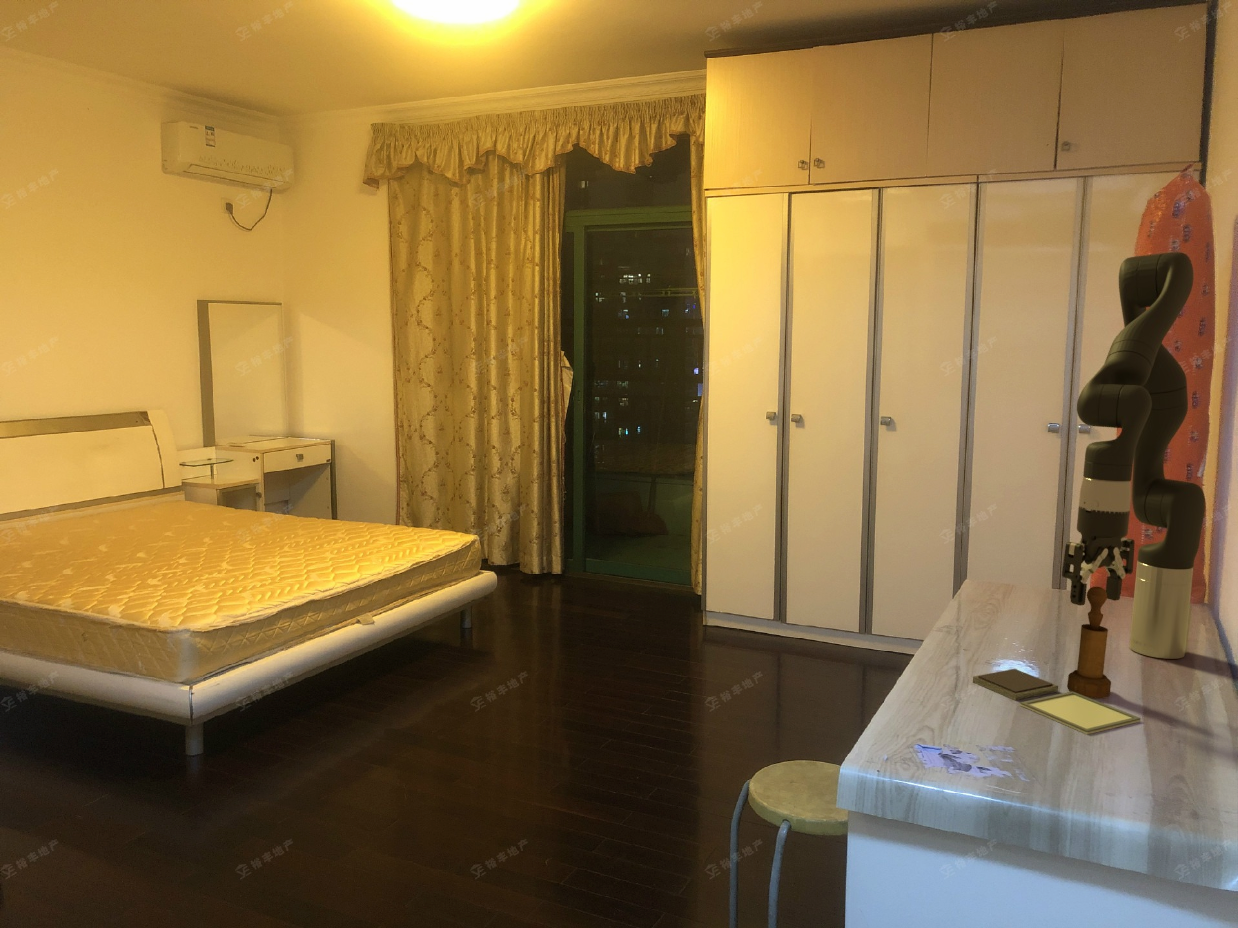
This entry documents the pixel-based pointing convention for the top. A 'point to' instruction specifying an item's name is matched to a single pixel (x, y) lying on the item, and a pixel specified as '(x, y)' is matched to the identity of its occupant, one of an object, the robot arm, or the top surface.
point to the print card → (1080, 712)
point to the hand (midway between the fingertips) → (1095, 601)
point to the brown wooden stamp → (1092, 652)
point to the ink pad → (1015, 684)
